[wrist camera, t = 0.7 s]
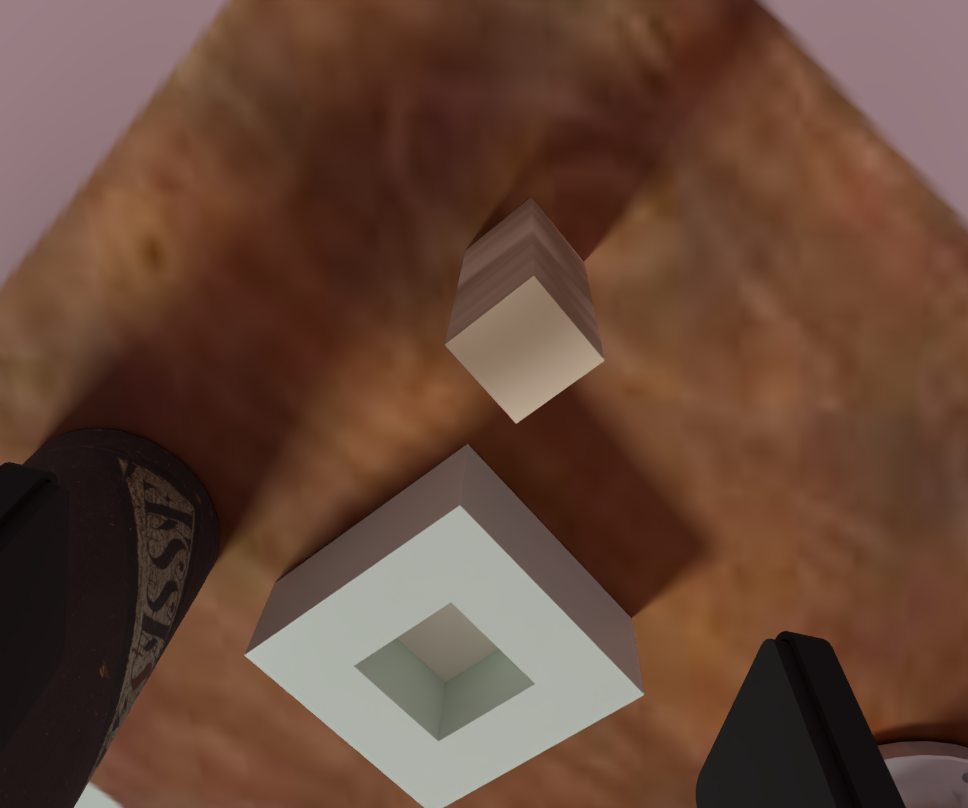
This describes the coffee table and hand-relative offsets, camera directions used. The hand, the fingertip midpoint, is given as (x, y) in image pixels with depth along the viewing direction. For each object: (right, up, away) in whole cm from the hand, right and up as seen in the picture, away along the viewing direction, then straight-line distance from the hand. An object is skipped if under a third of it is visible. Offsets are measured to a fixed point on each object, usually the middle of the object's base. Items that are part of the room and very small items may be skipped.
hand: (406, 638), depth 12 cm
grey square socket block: (0, -5, +26) cm, 27 cm away
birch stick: (+2, +8, +20) cm, 21 cm away
